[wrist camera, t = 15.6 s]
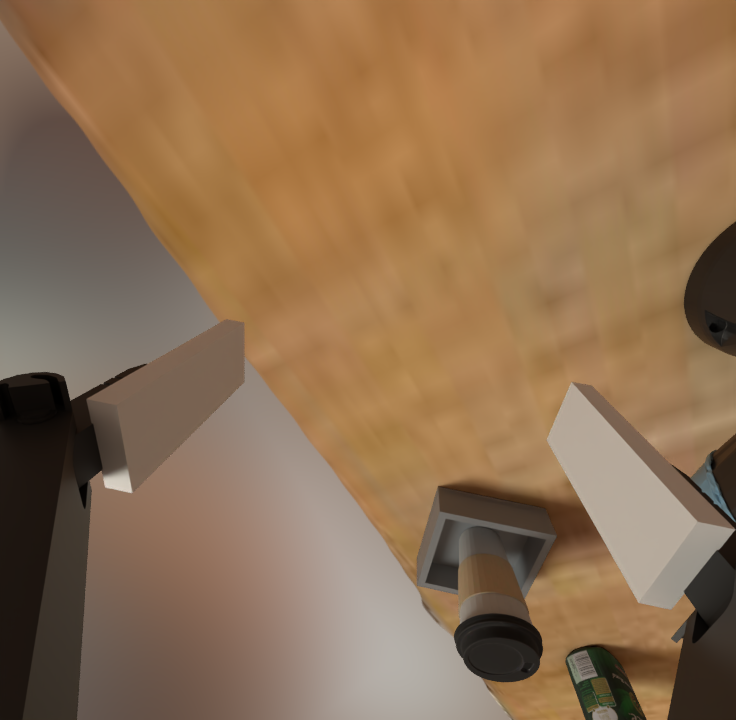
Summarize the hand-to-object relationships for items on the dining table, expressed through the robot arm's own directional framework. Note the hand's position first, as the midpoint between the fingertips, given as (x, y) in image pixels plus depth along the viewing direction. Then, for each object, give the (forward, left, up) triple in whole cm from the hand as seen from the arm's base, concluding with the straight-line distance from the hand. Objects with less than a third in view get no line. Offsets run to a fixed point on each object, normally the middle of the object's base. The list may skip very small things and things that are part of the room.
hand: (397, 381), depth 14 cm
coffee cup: (-17, +36, -26) cm, 48 cm away
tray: (-17, +36, -27) cm, 48 cm away
